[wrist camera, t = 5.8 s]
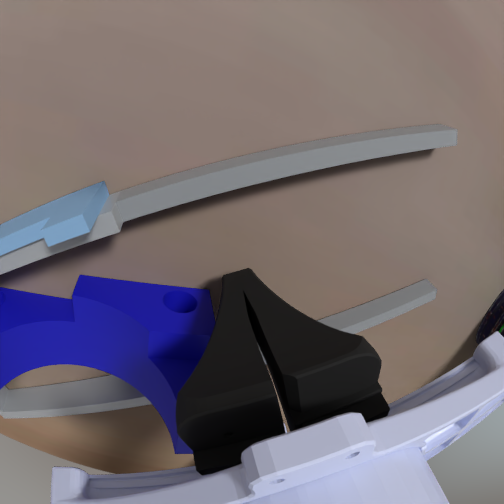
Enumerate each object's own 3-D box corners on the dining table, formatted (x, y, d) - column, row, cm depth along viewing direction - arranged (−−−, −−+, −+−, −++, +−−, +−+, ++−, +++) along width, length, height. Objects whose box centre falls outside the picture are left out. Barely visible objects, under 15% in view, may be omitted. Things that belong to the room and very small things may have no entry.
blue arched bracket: (209, 289, 14) (232, 399, 9) (194, 354, 16) (209, 453, 11) (-25, 257, 10) (-82, 343, 5) (-7, 326, 12) (-41, 411, 7)
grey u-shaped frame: (424, 288, 18) (442, 306, 16) (10, 396, 15) (4, 418, 14) (440, 123, 12) (469, 133, 11) (-80, 281, 10) (-95, 301, 8)
